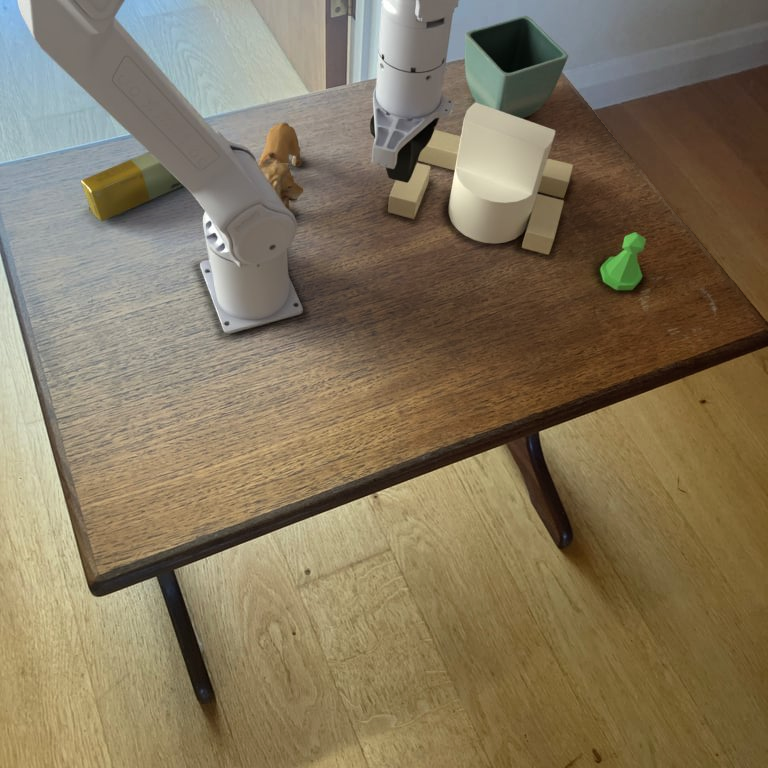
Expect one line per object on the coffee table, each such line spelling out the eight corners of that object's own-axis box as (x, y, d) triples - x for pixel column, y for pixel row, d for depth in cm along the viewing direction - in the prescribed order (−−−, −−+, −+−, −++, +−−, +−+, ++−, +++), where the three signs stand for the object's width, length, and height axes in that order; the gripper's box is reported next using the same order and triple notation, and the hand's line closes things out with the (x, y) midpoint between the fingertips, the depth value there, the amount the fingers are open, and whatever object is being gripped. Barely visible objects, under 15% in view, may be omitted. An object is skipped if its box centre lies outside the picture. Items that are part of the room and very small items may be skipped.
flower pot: (453, 97, 101) (463, 31, 93) (512, 79, 103) (527, 13, 96) (490, 141, 97) (504, 76, 89) (552, 121, 99) (570, 56, 92)
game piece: (636, 296, 85) (656, 257, 80) (596, 284, 86) (613, 245, 81) (643, 266, 87) (662, 227, 82) (603, 255, 88) (620, 215, 83)
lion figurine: (305, 244, 86) (303, 180, 79) (254, 245, 86) (247, 180, 78) (302, 148, 94) (300, 82, 87) (255, 149, 94) (249, 81, 86)
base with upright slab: (540, 201, 92) (567, 113, 82) (512, 254, 87) (537, 168, 77) (466, 174, 93) (483, 84, 83) (435, 225, 89) (449, 136, 79)
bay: (548, 255, 87) (554, 239, 85) (387, 212, 89) (389, 195, 87) (568, 181, 94) (573, 164, 92) (417, 142, 96) (419, 125, 94)
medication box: (188, 167, 91) (181, 136, 88) (200, 178, 90) (194, 148, 87) (88, 210, 87) (78, 179, 83) (100, 223, 85) (90, 192, 82)
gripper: (436, 117, 63) (419, 238, 75) (479, 14, 71) (458, 138, 83) (350, 95, 64) (346, 219, 76) (402, -4, 72) (391, 121, 83)
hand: (400, 175), depth 79 cm, fingers closed
